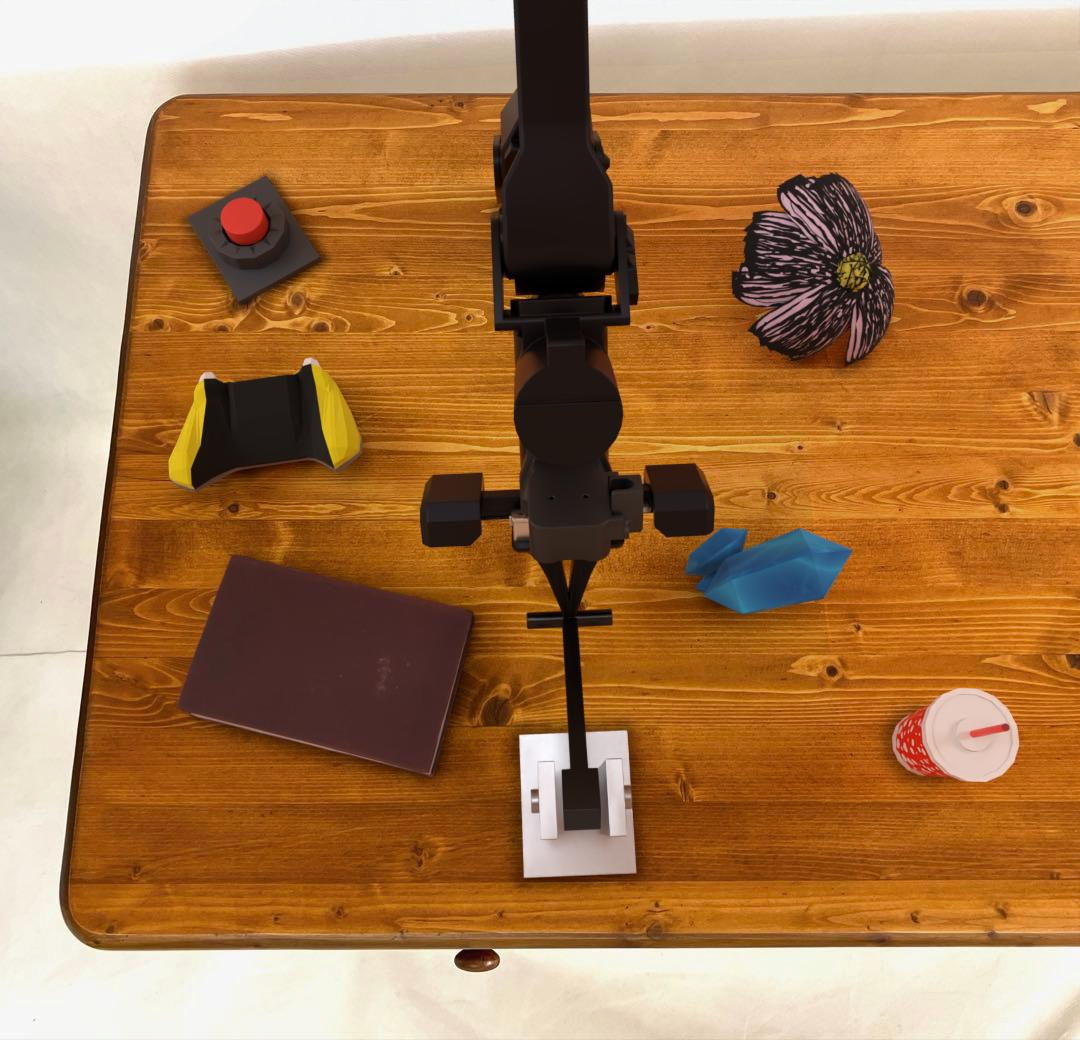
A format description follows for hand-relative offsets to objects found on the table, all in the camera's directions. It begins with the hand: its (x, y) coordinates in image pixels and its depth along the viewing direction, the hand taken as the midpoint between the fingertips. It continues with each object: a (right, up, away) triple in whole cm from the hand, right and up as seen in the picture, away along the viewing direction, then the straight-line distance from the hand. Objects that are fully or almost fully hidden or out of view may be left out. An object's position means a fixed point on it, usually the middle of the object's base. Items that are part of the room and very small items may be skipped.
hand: (569, 613), depth 68 cm
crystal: (+15, +2, +9) cm, 17 cm away
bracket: (+1, -14, +4) cm, 15 cm away
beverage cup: (+27, -10, +5) cm, 29 cm away
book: (-18, -5, +7) cm, 20 cm away
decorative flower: (+21, +25, +16) cm, 36 cm away
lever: (0, -6, -4) cm, 8 cm away
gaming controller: (-24, +13, +13) cm, 30 cm away
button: (-27, +32, +16) cm, 45 cm away
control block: (-27, +31, +18) cm, 45 cm away
